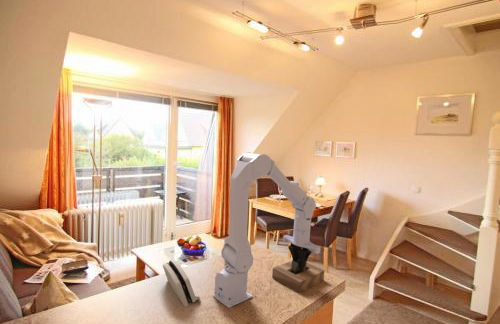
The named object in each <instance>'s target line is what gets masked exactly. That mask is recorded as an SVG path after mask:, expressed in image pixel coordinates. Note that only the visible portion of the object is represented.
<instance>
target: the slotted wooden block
mask: <svg viewBox="0 0 500 324" xmlns="http://www.w3.org/2000/svg"><path fill="white" fill-rule="evenodd" d="M291 266H292V260H290V261H287V262H284V263H281V264H280V265H277V266H275V267H272V273H271V274H272V275H271V278H272V279H274V280H275V281H278V282H279V283H281V284H283V285H284V286H287V287H288V288H290V289H292V290H294V291H296V292H297V293H302V292H303V291H306V290H307V289H309V288H311V287H314V286H315V285H317V284H319V283H321V282H323V281H324V279H325V269H322V268H320V267H318V266H316V265H313V264H311V263H309V262H307V264H306V270H305V271H303V272H301V273H299V274H297V275H295V274H293V273H291Z"/></svg>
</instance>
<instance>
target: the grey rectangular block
mask: <svg viewBox="0 0 500 324" xmlns="http://www.w3.org/2000/svg"><path fill="white" fill-rule="evenodd" d="M291 261H292V266H291V273H293V274H295V275H297V274H299V273H301V272H303V271H305V270H306V264H307V263H308V262H307V261H308V260H307V261H306V264H305V267H304V268H303V269H300V268H299V261H300V259H299V258H297V259H295V260H293V259H292V260H291Z"/></svg>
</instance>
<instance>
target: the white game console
mask: <svg viewBox="0 0 500 324" xmlns="http://www.w3.org/2000/svg"><path fill="white" fill-rule="evenodd" d="M162 268H163V270H164V273H165V274H164V275H165V276H166V279H167V282H168V283H169V285H170V286H171V288H172V290H173V291H174V293H175V294H176V296H177V297H178V299H179V301H180V302H181V303H182V306H183V307H186V308H187V307H189V306H190V305H189V304H190V302H191V303H194V302H196V301H197V302H199V303H201V302H202V300H201V298H200V296H199V295H198V293H197V292H196V290H195V289H194V288H193V286H192V284H191V282H190V279H189V277H188V275H187V273H186V272H185V270H184V269H183V268H182V266H181V264H179V262H178V261H177V260H175V259H174V258H173V259H169V261H168V262H164V263H162Z"/></svg>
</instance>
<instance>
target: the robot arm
mask: <svg viewBox="0 0 500 324" xmlns="http://www.w3.org/2000/svg"><path fill="white" fill-rule="evenodd" d="M235 165H236V166H235V168H234V169H233V172H232V173H231V176H230V186H229V189H230V190H229V191H230V192H229V216H228V218H229V223H228V224H229V225H228V236H226V237H225V238H224V242H223V246H222V248H221V258H222V259H223V260H224V263H223V264H224V267H223V269H221V270H220V271H219V272H217V273H216V275H215V279H214V293H213V294H212V297H214V298H215V299H216V300H218V302H220V303H221V304H223V305H224V306H225V307H227V308H229V309H230V308H232V307H234V306H236V305H238V304H241V303H243V302H245V301H247V300H250V299H252V298H253V294H251V293H249V292H248V291H247V290H248V277H249V276H248V275H249V271H250V269H251V268H252V267H253V264H254V256H253V254H252V246H251V244H250V241H249V239H248V223H249V221H248V219H249V217H248V216H249V215H248V214H249V190H250V189H249V188H250V186H251V184H253V182H255V181H256V180H258V179H259V180H260V178H262V177H265V176H268V177H269V178H270V179H271V180H272V181H273V182H274V183H275V184H276V185H278V187H280V188H281V193H282V195H283V196H284V197H285V198H286V199H287V200H288V201H289V202H290V203H291V206H292V208H293V209H295V210H294V217H293V218H294V221H293V231H292V232H293V234H292V235H293V236H292V235H288V234H285V235H283V237H282V241H283V242H286V243H290V245H288V251H289V253H290V255H291V259H292V260H295V259H297V258H299V259H300V261H299V268H300V269H303V268H304V267H305V264H306V261H308V259H309V257H310V255H311V253H314V254H315V255H319V254H321V246H318V245H316V244H314V243H313V242H311V240H310V238H311V237H310V236H311V225H312V218H313V216H314V212H315V210H316V209H317V204H316V200H315V199H314V198H313V197H312V196H309V195H307V191H305V190H304V189H302V188H301V186H300V183H299V182H298V181H295V180H289V179H288V178H287V177H286V175H285V174H284V173H283V172H282V171H281V170H280V168H279V167H278V166H277V165H276V162H275V161H274V160H273V159H272V158H271V157H270V156H269V155H267V154H265V153H254V152H249V151H248V152H247V151H246V152H244V153H243V154H241V155H240V156H239V157H238V158H236V164H235Z"/></svg>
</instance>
